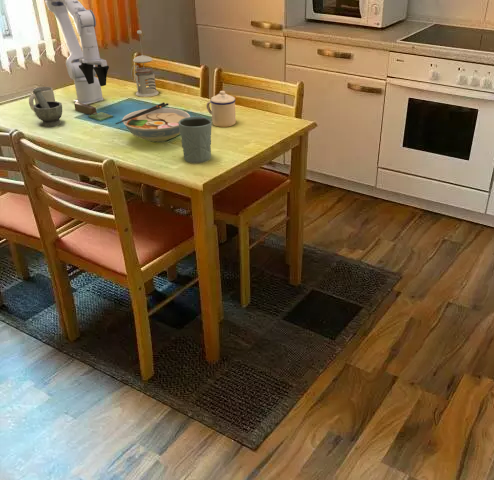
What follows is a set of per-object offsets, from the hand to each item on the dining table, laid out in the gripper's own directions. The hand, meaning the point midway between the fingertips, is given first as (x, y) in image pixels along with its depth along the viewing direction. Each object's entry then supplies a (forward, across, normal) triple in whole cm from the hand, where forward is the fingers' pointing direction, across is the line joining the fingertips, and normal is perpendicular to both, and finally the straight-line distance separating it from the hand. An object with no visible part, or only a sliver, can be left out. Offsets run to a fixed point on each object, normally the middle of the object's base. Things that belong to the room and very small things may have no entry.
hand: (97, 84), depth 221 cm
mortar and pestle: (+10, -3, -21) cm, 24 cm away
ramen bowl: (+13, +40, -7) cm, 43 cm away
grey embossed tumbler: (+15, +63, -10) cm, 66 cm away
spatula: (+10, 0, -5) cm, 11 cm away
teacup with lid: (+13, +45, +19) cm, 51 cm away
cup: (+10, -15, -16) cm, 24 cm away
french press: (+9, -5, +26) cm, 28 cm away
